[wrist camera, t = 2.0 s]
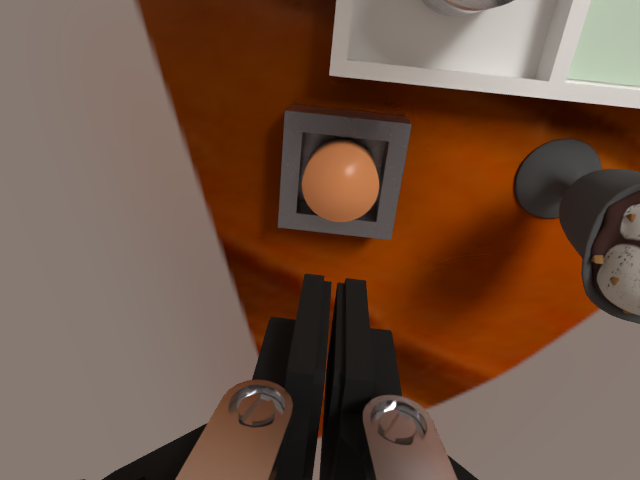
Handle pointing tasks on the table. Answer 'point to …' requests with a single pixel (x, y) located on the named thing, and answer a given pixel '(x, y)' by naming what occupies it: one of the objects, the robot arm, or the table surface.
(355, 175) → the button cap
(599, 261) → the sundae
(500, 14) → the shallow white tray
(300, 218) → the button housing
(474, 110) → the table surface
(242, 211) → the table surface
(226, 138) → the table surface
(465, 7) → the cylinder
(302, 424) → the robot arm
